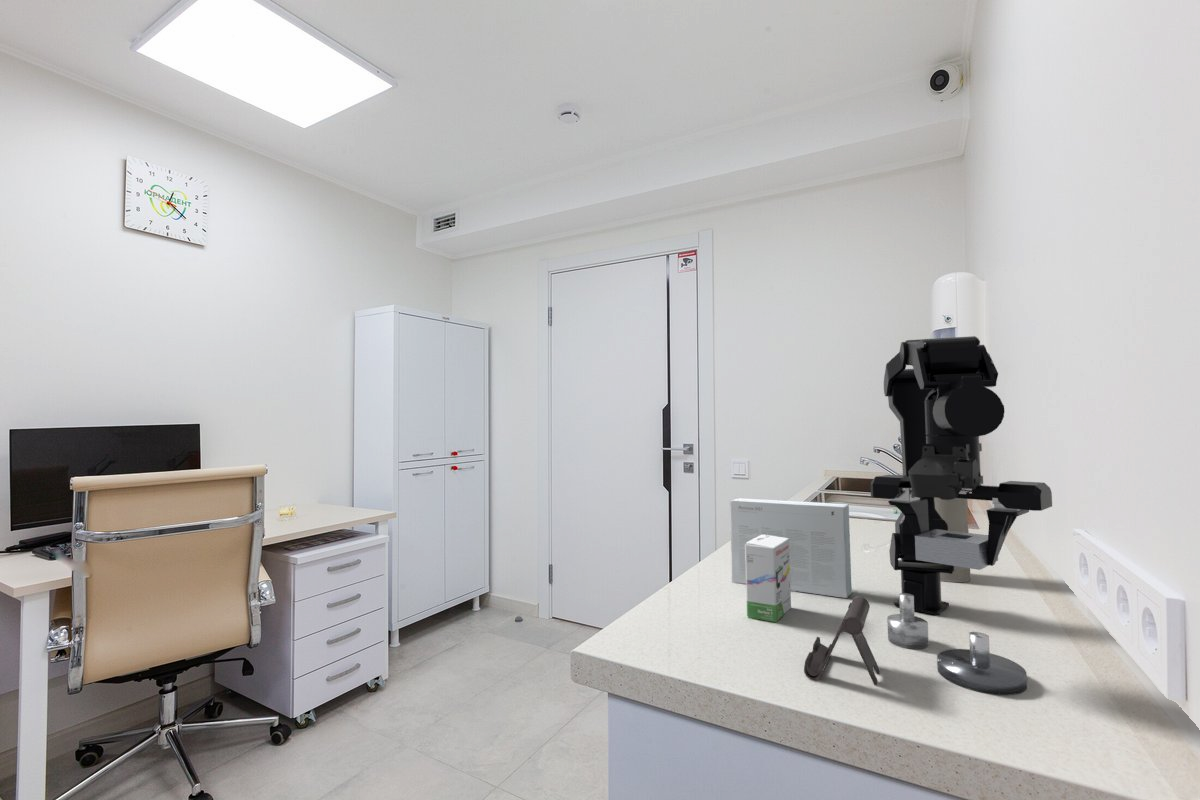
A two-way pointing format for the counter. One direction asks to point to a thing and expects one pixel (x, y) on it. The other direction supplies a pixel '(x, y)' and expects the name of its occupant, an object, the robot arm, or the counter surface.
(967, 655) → the hub
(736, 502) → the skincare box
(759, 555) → the ink box
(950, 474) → the robot arm
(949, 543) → the grey square ring block
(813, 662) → the portable electronic device stand
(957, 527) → the thermos bottle
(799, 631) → the counter surface
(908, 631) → the threaded levelling foot
